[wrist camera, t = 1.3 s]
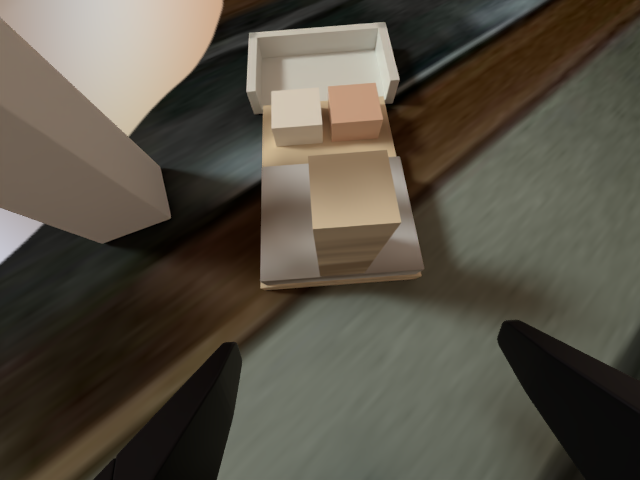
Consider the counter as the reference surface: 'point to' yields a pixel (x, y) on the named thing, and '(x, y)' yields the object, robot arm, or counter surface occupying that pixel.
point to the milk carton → (69, 154)
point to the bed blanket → (337, 220)
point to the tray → (320, 61)
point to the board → (300, 154)
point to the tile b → (354, 112)
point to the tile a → (296, 117)
